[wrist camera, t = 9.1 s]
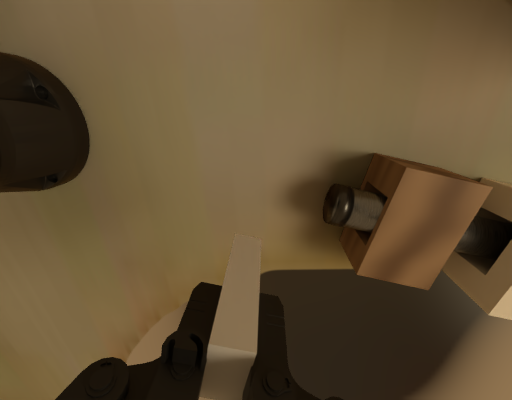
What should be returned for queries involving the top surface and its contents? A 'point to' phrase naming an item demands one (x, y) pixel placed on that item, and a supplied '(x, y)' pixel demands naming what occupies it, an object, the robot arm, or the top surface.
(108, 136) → the top surface
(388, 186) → the sleeve
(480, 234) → the tube
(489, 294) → the socket
